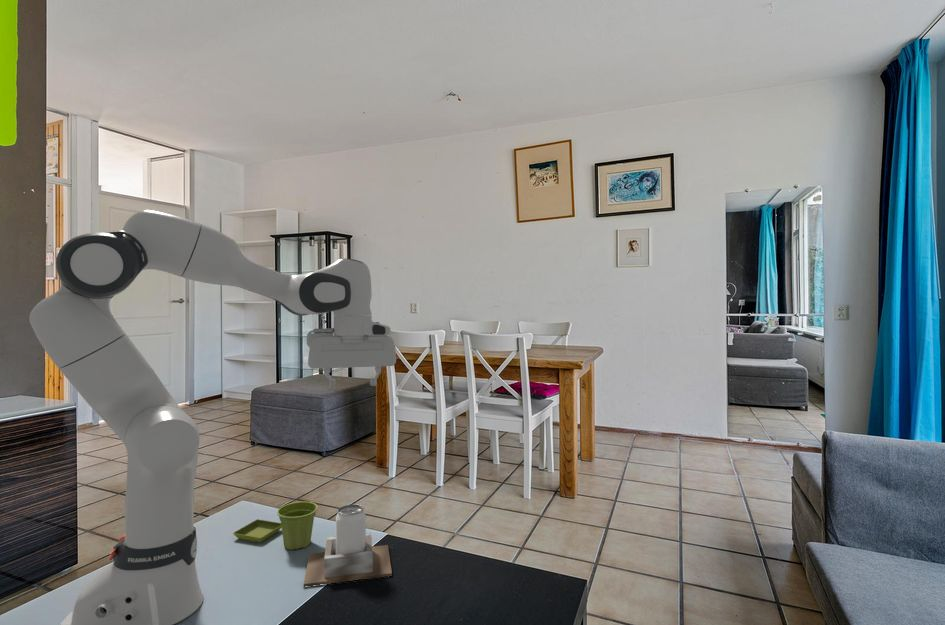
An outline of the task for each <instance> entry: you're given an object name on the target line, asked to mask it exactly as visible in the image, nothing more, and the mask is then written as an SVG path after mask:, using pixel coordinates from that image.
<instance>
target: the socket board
mask: <svg viewBox="0 0 945 625" xmlns="http://www.w3.org/2000/svg"><path fill="white" fill-rule="evenodd" d="M306 564H307V565H306V571H305V574H304V579H303V588H304V587H305V586H313V585H320V584H329V585H332V584H331V583H335V582H345V581H353V580H358V579H369V580H371V579H370V578H377V577H384V576H392V577H393V574H392V573H393V572H392V571H393V570H392V564H391V556H390V550H389V545H388V544H384V545H377V546H374V545H373V538H372V532H366V552H357V553H348V554H339V555H336V536H328V537H326V542H325V550H324V551H322V552H321V551H320V552H314V553H313V552H312V553H311V552H310V553H309V554H308V560H307V563H306ZM384 578H385V577H384ZM377 579H378V578H377ZM353 582H354V581H353ZM345 583H346V582H345ZM313 587H314V586H313ZM305 588H306V587H305Z"/></svg>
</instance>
